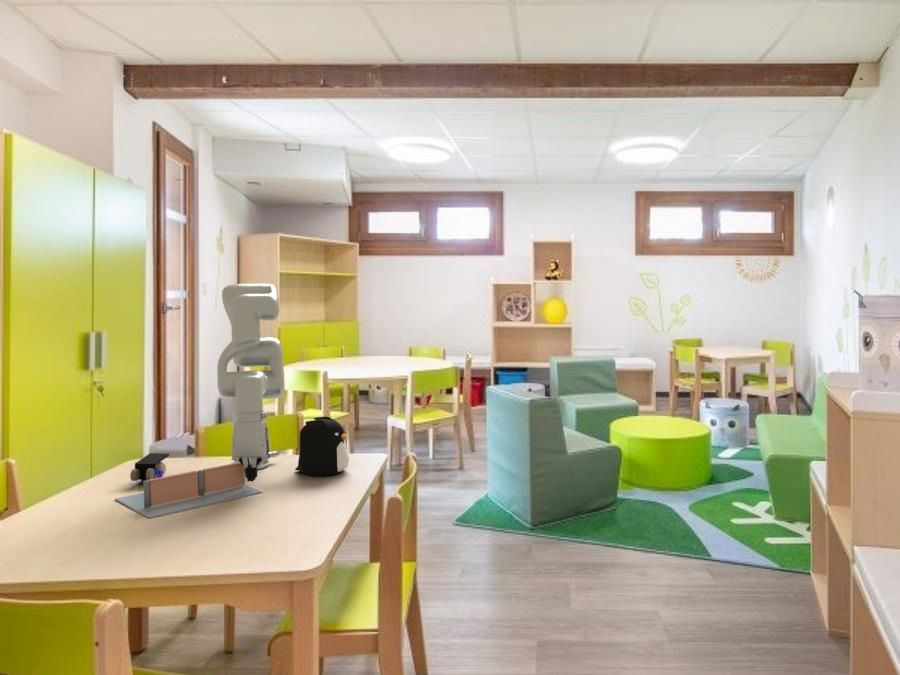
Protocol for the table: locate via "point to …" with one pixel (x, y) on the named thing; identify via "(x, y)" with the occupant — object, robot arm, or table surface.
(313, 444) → the penguin
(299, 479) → the table surface
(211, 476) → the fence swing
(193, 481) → the fence fixed
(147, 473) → the black toy car
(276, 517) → the table surface
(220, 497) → the card
